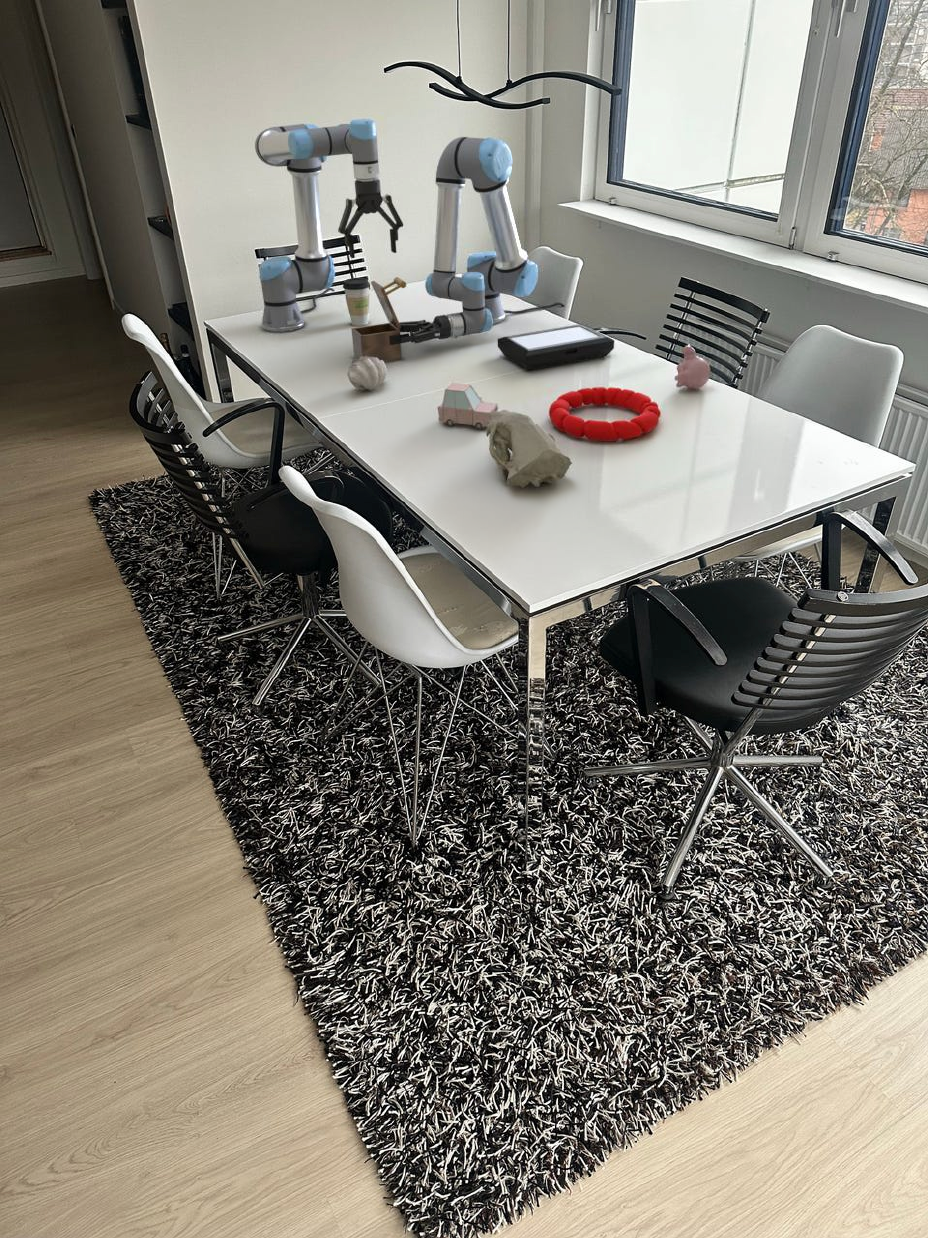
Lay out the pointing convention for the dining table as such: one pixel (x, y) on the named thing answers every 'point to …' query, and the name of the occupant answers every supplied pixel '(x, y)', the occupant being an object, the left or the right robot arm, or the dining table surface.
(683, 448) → the dining table surface
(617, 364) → the dining table surface
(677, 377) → the figurine
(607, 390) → the decorative ring
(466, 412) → the toy car
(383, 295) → the lid
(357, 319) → the coffee cup
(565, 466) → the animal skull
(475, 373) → the dining table surface
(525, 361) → the electronic device
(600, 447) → the dining table surface
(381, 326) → the chest
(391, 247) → the left robot arm
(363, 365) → the seashell
